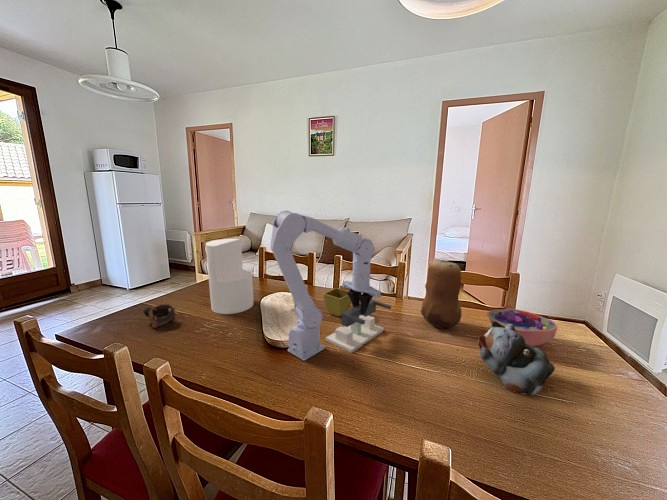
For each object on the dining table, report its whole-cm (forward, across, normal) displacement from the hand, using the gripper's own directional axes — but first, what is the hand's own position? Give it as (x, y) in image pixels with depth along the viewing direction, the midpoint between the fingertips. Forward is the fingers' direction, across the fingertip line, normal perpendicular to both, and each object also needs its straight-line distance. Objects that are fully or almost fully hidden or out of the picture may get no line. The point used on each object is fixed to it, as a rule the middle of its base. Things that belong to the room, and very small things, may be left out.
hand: (359, 312), depth 94 cm
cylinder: (+10, +56, +16) cm, 60 cm away
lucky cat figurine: (+10, -43, -12) cm, 46 cm away
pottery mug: (+10, +62, +43) cm, 76 cm away
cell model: (+9, -41, -34) cm, 54 cm away
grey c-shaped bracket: (+2, -3, 0) cm, 4 cm away
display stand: (+9, +2, 0) cm, 9 cm away
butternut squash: (+9, -17, -27) cm, 34 cm away
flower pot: (+10, +18, -9) cm, 22 cm away
